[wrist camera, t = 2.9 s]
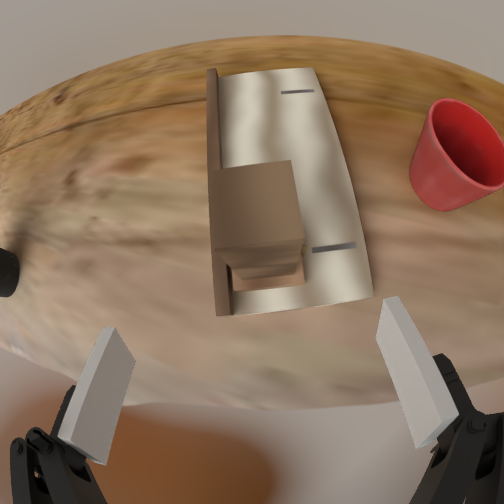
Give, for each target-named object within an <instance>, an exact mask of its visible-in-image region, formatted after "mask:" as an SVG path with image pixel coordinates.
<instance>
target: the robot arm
mask: <svg viewBox="0 0 504 504" xmlns="http://www.w3.org/2000/svg"><path fill="white" fill-rule="evenodd" d="M376 341H377V343H378V346H379V348H380V350H381V353H382V355H383V358H384V360H385V363H386V365H387V368H388V370H389V373H390V376H391V378H392V381H393V384H394V386H395V389H396V392H397V394H398V397H399V400H400V403H401V406H402V408H403V411H404V414H405V417H406V420H407V423H408V426H409V429H410V432H411V436H412V438H413V442H414V445H415V448H416V449H418V448H421V447H423V446H426V445H428V444H431V443H432V442H433V441H434V440H435V439H436V438H437V440H438V444H437V445H436V446H435V447H434V448H433V449H432V450H431V452H430V453H433V452H434V451H435V452H434V454H433V456H432V459H431V461H430V463H429V466H428V468H427V470H426V472H425V474H424V476H423V478H422V480H421V483H420V484H419V486H418V488H417V490H416V492H415V494H414V496H413V497H412V499H411V501H410V503H409V504H463V502H464V499H465V497H466V500H465V504H504V412H502V413H496V414H489V415H485V414H484V413H481V412H480V411H477V410H476V409H475V408H474V406H473V405H472V403H471V400H470V398H469V396H468V394H467V392H466V390H465V388H464V386H463V384H462V382H461V380H460V379H459V376H458V374H457V372H456V370H455V368H454V366H453V364H452V362H451V361H450V360H449V359H448V358H447V357H446V356H445V355H444V354H443V353H441V354H438V355H436V356H432V355H431V354H430V352H429V350H428V348H427V346H426V344H425V342H424V340H423V339H422V337H421V335H420V333H419V331H418V329H417V328H416V326H415V324H414V322H413V321H412V319H411V317H410V315H409V314H408V312H407V310H406V309H405V307H404V305H403V304H402V302H401V300H400V299H399V297H398V296H394V297H389V298H384V299H383V305H382V310H381V315H380V320H379V325H378V329H377V334H376ZM135 362H136V361H135V359H134V358H133V356H132V354H131V353H130V351H129V350H128V348H127V346H126V345H125V343H124V342H123V340H122V338H121V337H120V335H119V333H118V331H117V330H116V328H115V327H103V329H102V331H101V333H100V335H99V337H98V339H97V341H96V343H95V345H94V348H93V350H92V352H91V354H90V356H89V358H88V361H87V363H86V365H85V367H84V370H83V372H82V374H81V376H80V379H79V381H78V383H77V386H75V385H73V386H72V387H71V388H70V389H69V390H68V391H67V393H66V395H65V397H64V400H63V403H62V405H61V407H60V410H59V412H58V415H57V417H56V420H55V423H54V426H53V428H52V431H51V434H50V435H48V434H47V433H45V432H44V431H43V430H41V429H40V428H38V427H34V428H32V429H30V430H29V431H28V433H27V434H26V437H25V440H24V439H22V438H16V439H14V440H13V441H12V443H11V447H10V470H11V486H12V496H13V504H107V502H106V500H105V498H104V496H103V494H102V492H101V490H100V488H99V486H98V484H97V482H96V480H95V478H94V476H93V474H92V471H91V469H90V467H89V465H88V463H87V462H86V461H85V460H86V457H87V458H88V459H90V460H91V461H93V462H96V463H99V464H103V465H106V464H107V460H108V455H109V452H110V447H111V444H112V439H113V436H114V432H115V428H116V424H117V421H118V418H119V414H120V411H121V407H122V404H123V400H124V397H125V394H126V390H127V387H128V384H129V381H130V378H131V375H132V371H133V368H134V365H135ZM34 471H35V472H37V473H38V477H35V473H34Z"/></svg>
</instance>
